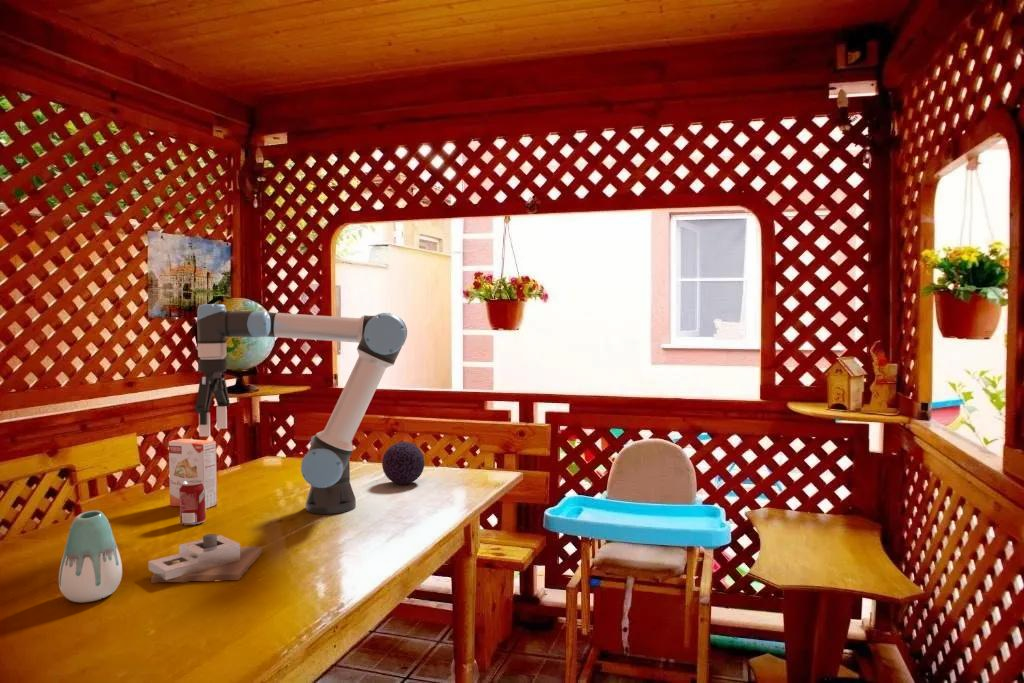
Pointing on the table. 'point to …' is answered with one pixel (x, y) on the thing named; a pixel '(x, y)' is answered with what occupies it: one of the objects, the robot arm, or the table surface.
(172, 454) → the cracker box
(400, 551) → the table surface
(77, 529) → the vase
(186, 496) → the soda can
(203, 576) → the post base
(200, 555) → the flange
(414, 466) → the toy ball
